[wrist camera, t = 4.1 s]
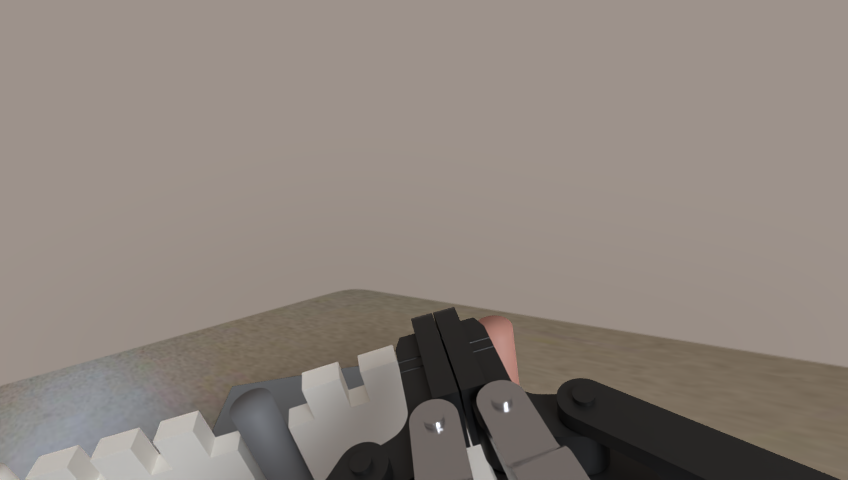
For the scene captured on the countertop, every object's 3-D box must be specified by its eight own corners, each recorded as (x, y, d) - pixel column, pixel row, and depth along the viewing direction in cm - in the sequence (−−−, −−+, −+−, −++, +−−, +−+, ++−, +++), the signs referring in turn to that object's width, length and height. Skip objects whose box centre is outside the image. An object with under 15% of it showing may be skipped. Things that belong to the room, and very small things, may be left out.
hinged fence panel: (353, 563, 27) (273, 405, 21) (350, 530, 29) (276, 375, 22) (536, 496, 29) (518, 328, 22) (523, 469, 30) (502, 305, 24)
